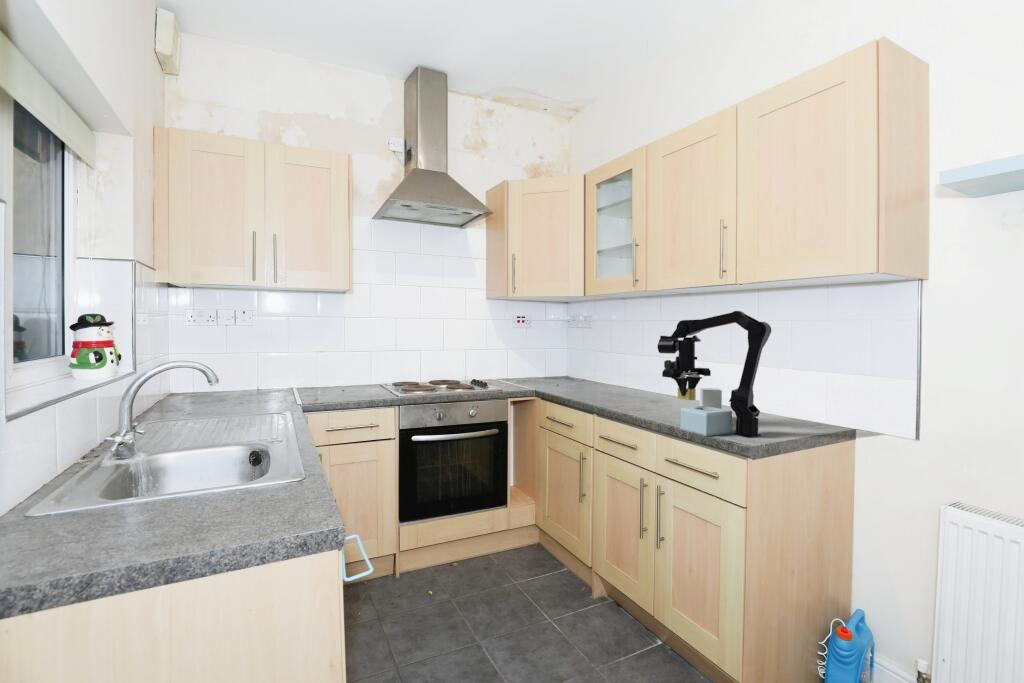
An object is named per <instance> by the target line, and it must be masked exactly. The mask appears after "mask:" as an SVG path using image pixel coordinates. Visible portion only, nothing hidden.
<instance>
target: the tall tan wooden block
mask: <svg viewBox="0 0 1024 683" xmlns="http://www.w3.org/2000/svg"><path fill="white" fill-rule="evenodd" d="M696 394H697V392H696V388H695V389H691V388H688V387H686V393H685V396H682V395H681V392H680V389H679V387H677V399H679V400H686V401H696V399H697V398H696Z"/></svg>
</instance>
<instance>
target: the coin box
mask: <svg viewBox="0 0 1024 683" xmlns="http://www.w3.org/2000/svg"><path fill="white" fill-rule="evenodd" d="M732 422H733V410H730V409H729V410H728V409H724V408H721V409H719V408H714V407H709V406H699V405H698V406H686V407H680V425H679V427H680V431H684V432H688V433H691V434H695V435H700V436H702V437H706V438H707V437H713V435H715V436H722V434H724V435H732V426H733V424H732Z"/></svg>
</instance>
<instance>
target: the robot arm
mask: <svg viewBox="0 0 1024 683" xmlns="http://www.w3.org/2000/svg"><path fill="white" fill-rule="evenodd" d="M731 324H737V325H738V326H739V327H741V328H742V329H744V330H745V331H747V344H748V348H747V353H746V356H745V361H744V363H743V364H744V365H743V369H742V374H741V378H740V381H739V385H738V388H736V389H732V390H731V391H730V392H731V393H730V399H728V402H729V403H730V404H729V405H730V409H731V411H732V412H734V414H735V417H736V420H735V431H734V432H733V433H732V434H734V435H737V436H740V437H746V438H754V437H761V436H762V434H761V433H759V418H758V417H759V416H760V413H761V411H760V410H759V409H758V407H757V406H756V405H755V404H754V399H755V398H754V397H755V396H754V386H755V385H754V383H755V381H756V380H755V379H756V375H757V372H758V368H759V364H760V359H761V356H762V355H761V354H762V353H763V352H762V351H763V348H764V347H765V345H766V344H767V342H768V340H769V338H770V336H771V334H772V327H771V326H770V324H769V323H768V322H766V321H758V320H757V319H755V318H753V317H751V316H750V315H748V314H746V313H745V312H743V311H741V310H733V311H732V312H727V313H724V314H720V315H715V316H711V317H707V318H702V319H701V318H700V319H685V320H684V319H682V320H680V321H678V323H677V325H676V328H675V330H674V331H673V333H672V334H671V335H660V336H659V340H658V343H657V351H658V353H659V354H670V355H671V354H673V355H674V354H677V352H678V356H676V357H675V360H674V361H672V360H670V359H666V360H664V361H663V365H664V366H663V367H664V369H663V371H662V373H661V374H662V377H663V378H670V379H672V380H674V381H675V382H676V384H677V386H678V387H677V388H679V389H680V392H681V395H682V396H685V393H686V388H691V389H696V387H697V386H698V384H699V383H700V381H701V379H703V377H702V376H704V377H711V376H712V375H711V373H712V372H711V369H710V368H708V367H696V363H695V361H697V360H698V356H696V343H698V342H699V343H700V342H701V341H702V340H701V339H700V338H699V337H698V336H697V335H696V334H698V333H701V332H702V331H705V330H707V329H712V328H717V327H723V326H727V325H731Z"/></svg>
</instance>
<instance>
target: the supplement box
mask: <svg viewBox="0 0 1024 683" xmlns="http://www.w3.org/2000/svg"><path fill="white" fill-rule="evenodd" d="M722 394H723V391H722V389H720V388H718V387H717V388H716V387H714V388H713V387H700V388H699V399H698V400H699V401H698V402H699V403H698V404H699V405H698V406H709V407H714V408H719V409H722V402H723V401H722Z"/></svg>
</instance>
